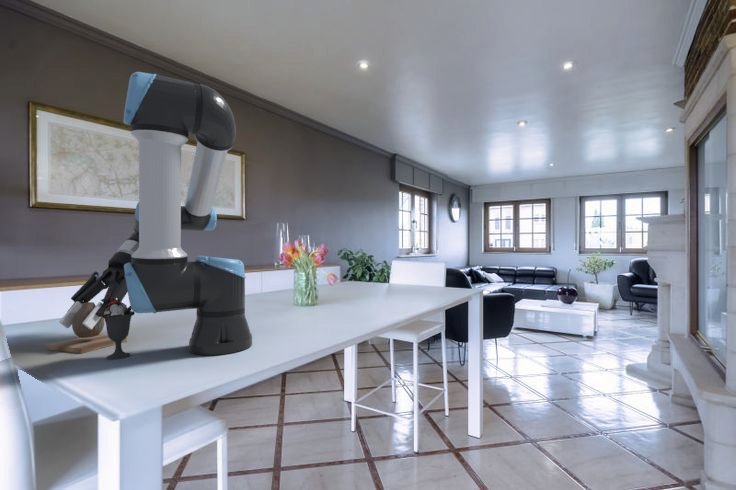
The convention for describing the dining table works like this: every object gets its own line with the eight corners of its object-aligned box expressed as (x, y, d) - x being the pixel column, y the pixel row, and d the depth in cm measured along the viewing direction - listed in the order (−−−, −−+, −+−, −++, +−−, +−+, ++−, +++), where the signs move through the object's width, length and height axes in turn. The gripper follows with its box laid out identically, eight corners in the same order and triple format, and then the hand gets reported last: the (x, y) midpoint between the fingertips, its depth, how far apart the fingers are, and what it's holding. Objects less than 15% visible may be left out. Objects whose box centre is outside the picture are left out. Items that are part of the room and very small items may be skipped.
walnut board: (126, 341, 105) (126, 337, 105) (81, 353, 93) (81, 348, 93) (94, 338, 108) (94, 334, 108) (47, 349, 97) (47, 344, 97)
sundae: (96, 357, 90) (96, 293, 90) (128, 350, 95) (127, 290, 95) (107, 362, 86) (106, 295, 86) (139, 355, 91) (139, 292, 91)
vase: (87, 339, 97) (87, 305, 97) (65, 338, 98) (64, 304, 98) (111, 333, 104) (110, 301, 103) (89, 332, 105) (89, 300, 105)
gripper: (163, 267, 113) (116, 335, 98) (109, 267, 118) (56, 332, 102) (149, 250, 108) (96, 318, 92) (93, 250, 113) (34, 315, 97)
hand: (75, 325), depth 97 cm, fingers closed on vase, 7 cm apart
